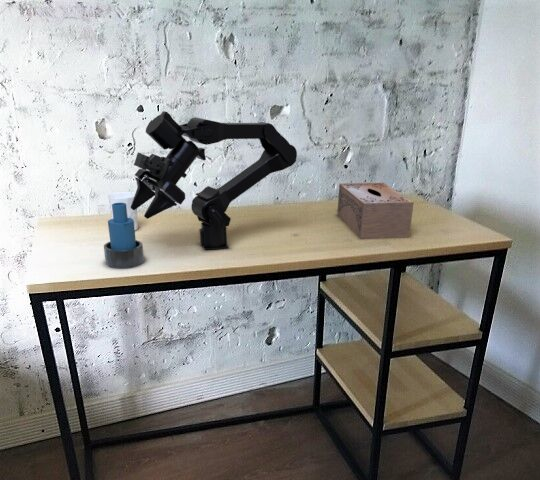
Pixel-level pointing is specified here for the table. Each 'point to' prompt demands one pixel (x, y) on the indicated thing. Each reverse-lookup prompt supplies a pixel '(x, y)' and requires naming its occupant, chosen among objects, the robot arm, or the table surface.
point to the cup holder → (124, 256)
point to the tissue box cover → (374, 210)
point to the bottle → (121, 228)
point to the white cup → (128, 199)
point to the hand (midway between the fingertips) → (138, 213)
